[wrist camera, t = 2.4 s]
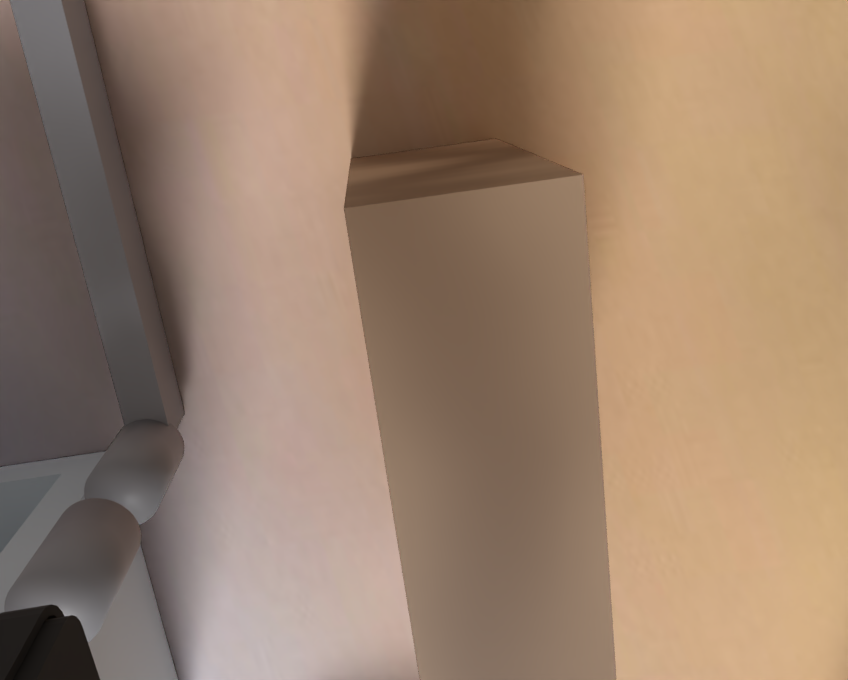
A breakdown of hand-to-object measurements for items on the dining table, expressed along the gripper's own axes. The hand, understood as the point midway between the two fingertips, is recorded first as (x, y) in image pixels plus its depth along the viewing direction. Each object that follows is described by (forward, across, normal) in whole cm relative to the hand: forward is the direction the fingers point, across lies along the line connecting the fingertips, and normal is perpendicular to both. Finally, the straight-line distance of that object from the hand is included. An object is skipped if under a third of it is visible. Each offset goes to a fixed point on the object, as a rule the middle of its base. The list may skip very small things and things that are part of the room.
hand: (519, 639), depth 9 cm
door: (+12, -1, +1) cm, 12 cm away
